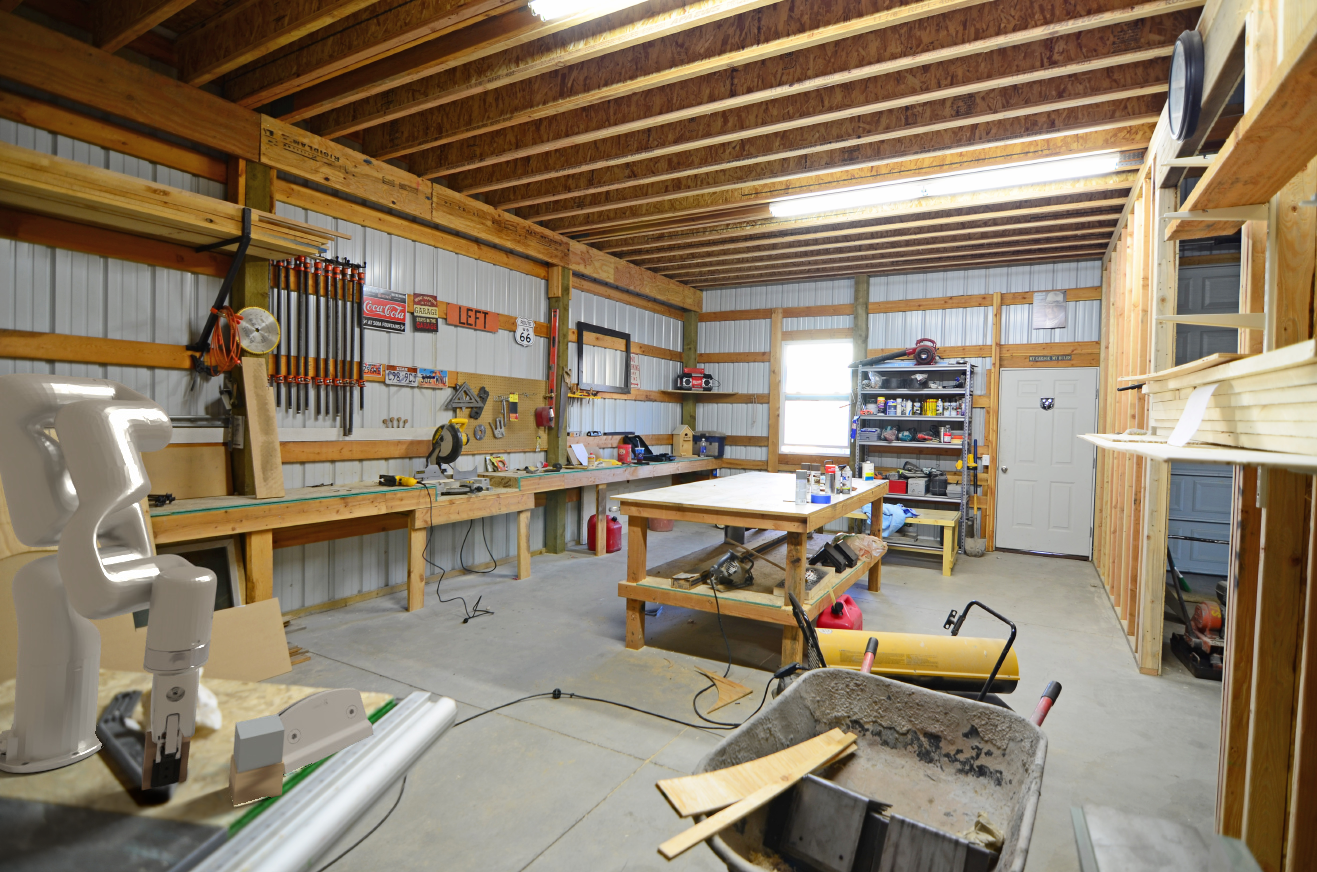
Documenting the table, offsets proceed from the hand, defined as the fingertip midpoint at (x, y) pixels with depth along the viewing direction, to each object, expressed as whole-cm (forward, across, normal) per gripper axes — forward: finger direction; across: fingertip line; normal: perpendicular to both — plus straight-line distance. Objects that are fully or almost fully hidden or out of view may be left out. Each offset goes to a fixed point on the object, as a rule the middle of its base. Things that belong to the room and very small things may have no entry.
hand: (164, 772), depth 91 cm
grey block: (-3, -6, -11) cm, 13 cm away
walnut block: (+1, 0, 0) cm, 1 cm away
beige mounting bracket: (+3, +2, -21) cm, 21 cm away
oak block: (+2, -6, -11) cm, 13 cm away
